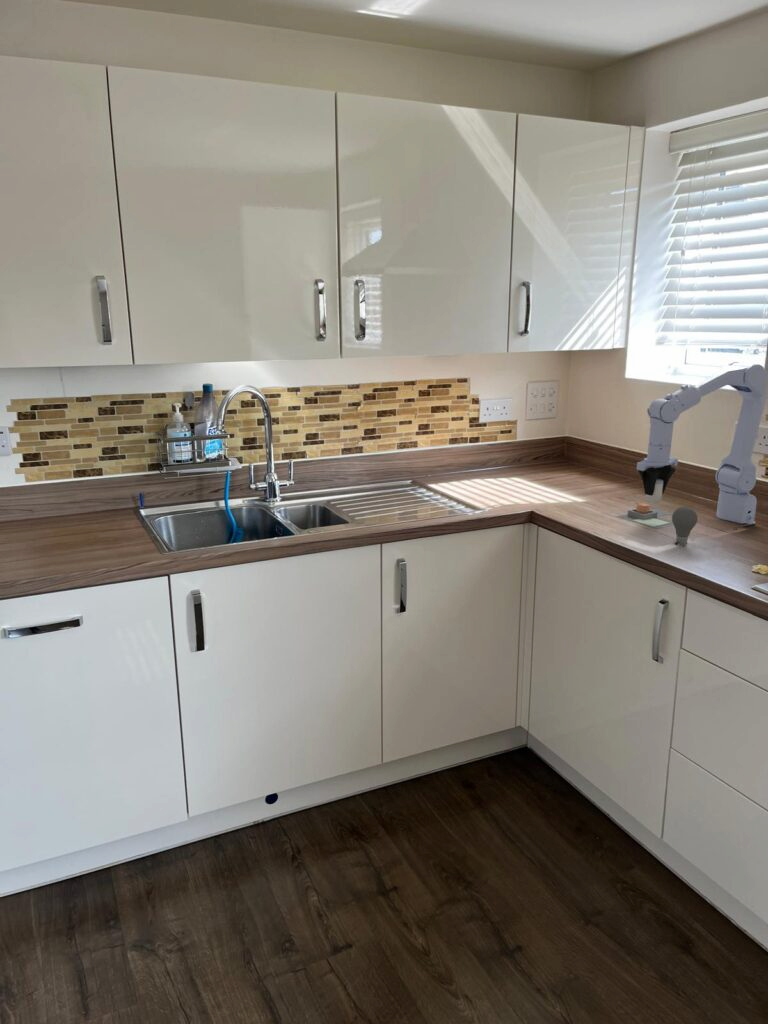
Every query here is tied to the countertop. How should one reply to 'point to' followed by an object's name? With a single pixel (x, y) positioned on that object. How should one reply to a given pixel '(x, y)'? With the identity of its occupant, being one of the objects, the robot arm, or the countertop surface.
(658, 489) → the cartridge
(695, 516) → the light bulb
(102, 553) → the countertop surface
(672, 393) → the robot arm
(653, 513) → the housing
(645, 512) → the orange round piece
